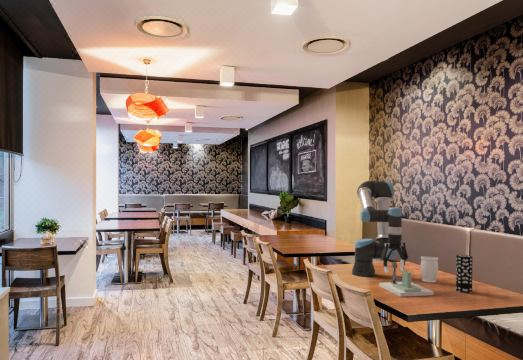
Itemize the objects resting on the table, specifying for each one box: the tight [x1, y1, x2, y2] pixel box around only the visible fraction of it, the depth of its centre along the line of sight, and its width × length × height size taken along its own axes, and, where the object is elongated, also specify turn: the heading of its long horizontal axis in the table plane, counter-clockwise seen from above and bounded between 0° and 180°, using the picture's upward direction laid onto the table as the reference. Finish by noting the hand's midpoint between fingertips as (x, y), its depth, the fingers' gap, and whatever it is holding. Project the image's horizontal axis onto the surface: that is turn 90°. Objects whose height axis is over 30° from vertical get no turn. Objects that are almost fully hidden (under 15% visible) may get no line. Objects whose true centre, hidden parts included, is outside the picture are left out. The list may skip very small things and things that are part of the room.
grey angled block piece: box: [391, 261, 402, 283], centre depth 241 cm, size 10×6×12 cm, turn 80°
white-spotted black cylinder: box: [455, 254, 474, 294], centre depth 234 cm, size 8×8×20 cm
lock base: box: [378, 281, 435, 297], centre depth 233 cm, size 23×20×2 cm
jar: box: [419, 255, 439, 284], centre depth 258 cm, size 11×10×15 cm
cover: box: [393, 270, 421, 292], centre depth 229 cm, size 12×10×10 cm
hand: (394, 271), depth 241 cm, fingers open, 11 cm apart
